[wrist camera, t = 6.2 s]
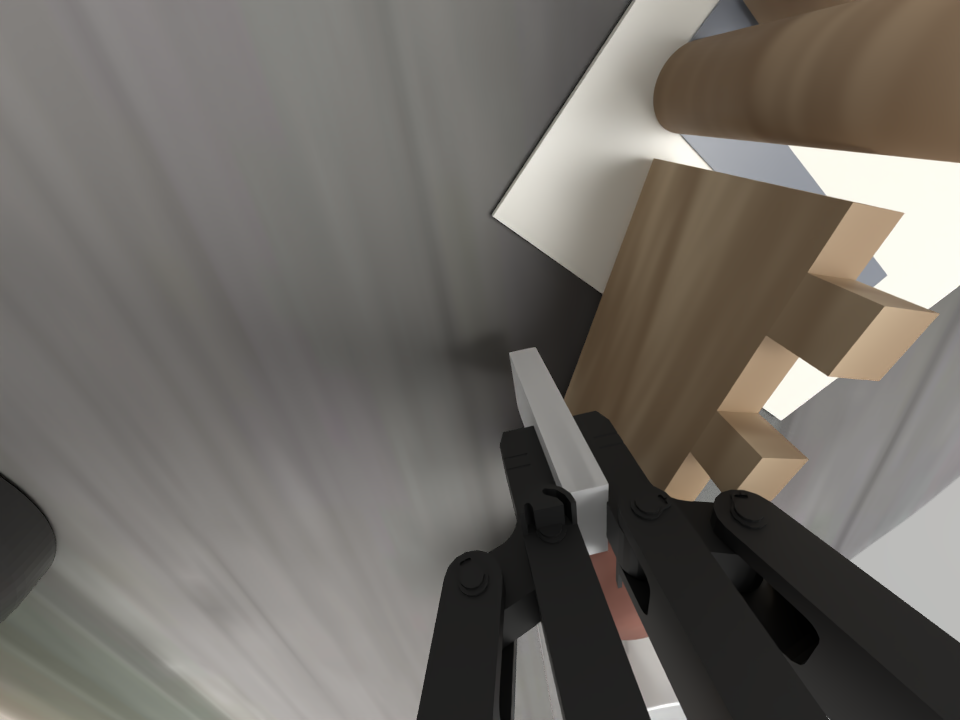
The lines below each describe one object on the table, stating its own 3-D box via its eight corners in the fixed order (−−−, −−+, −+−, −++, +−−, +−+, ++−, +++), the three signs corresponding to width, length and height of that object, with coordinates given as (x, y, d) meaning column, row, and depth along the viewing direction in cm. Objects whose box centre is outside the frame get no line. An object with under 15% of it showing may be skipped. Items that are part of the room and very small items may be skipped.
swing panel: (534, 448, 19) (598, 642, 12) (637, 154, 12) (920, 217, 5) (577, 450, 20) (663, 637, 13) (700, 167, 13) (1037, 242, 6)
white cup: (553, 479, 22) (632, 702, 14) (654, 502, 25) (771, 701, 17) (493, 554, 26) (527, 767, 17) (587, 568, 28) (656, 758, 20)
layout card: (491, 214, 14) (493, 217, 13) (1186, -841, 6) (1230, -895, 6) (776, 416, 22) (782, 421, 21) (1227, 72, 14) (1246, 71, 14)
